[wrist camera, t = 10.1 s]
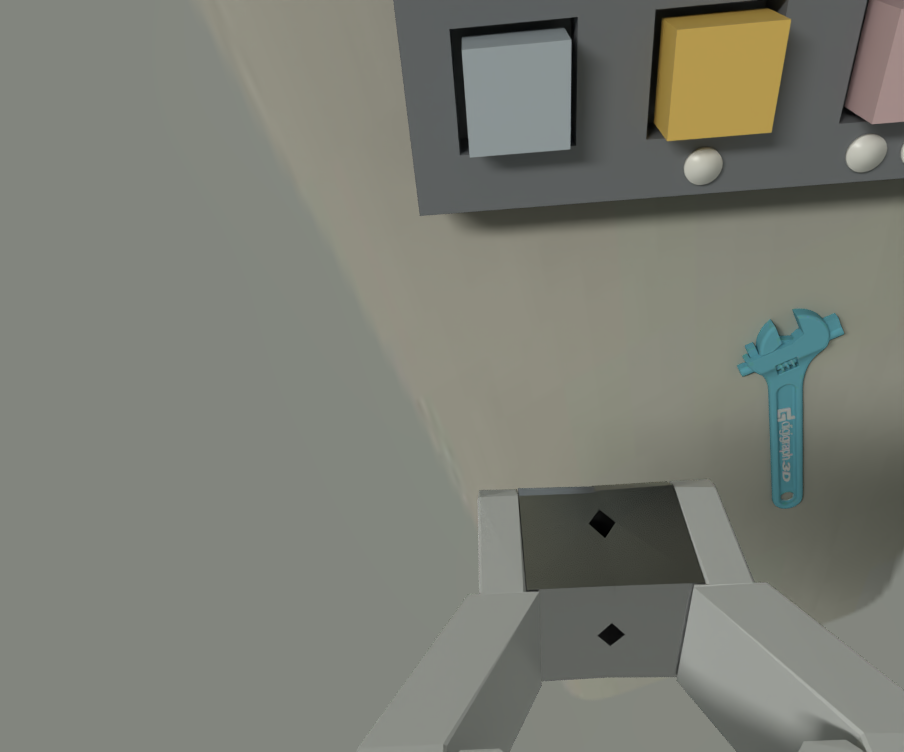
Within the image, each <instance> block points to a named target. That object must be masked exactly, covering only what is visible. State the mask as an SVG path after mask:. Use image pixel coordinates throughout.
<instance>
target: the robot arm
mask: <svg viewBox="0 0 904 752" xmlns="http://www.w3.org/2000/svg"><path fill="white" fill-rule="evenodd" d="M478 547H479V594H468V595H467V596H466V597H465V599H464V600H463V602H462V603H461V605H460V606H459V607H458V609H457V610H456V611H455V613H454V614H453V616H452V617H451V618H450V620H449V621H448V623H447V624H446V625H445V627H444V628H443V630H442V631H441V632H440V634H439V635H438V637H437V638H436V639H435V641H434V642H433V644H432V645H431V646H430V648H429V649H428V650H427V652H426V653H425V655H424V656H423V657H422V659H421V660H420V662H419V663H418V665H417V666H416V667H415V669H414V670H413V671H412V673H411V674H410V676H409V677H408V679H407V680H406V681H405V683H404V684H403V686H402V687H401V688H400V690H399V691H398V692H397V694H396V695H395V697H394V698H393V700H392V701H391V702H390V704H389V705H388V706H387V708H386V709H385V711H384V712H383V713H382V715H381V716H380V718H379V719H378V721H377V722H376V723H375V725H374V726H373V727H372V729H371V730H370V732H369V733H368V734H367V736H366V737H365V738H364V740H363V741H362V743H361V744H360V746H359V747H358V748H357V752H510V750H511V747H512V745H513V743H514V741H515V739H516V737H517V735H518V733H519V731H520V729H521V727H522V725H523V723H524V721H525V719H526V716H527V715H528V713H529V711H530V708H531V706H532V704H533V702H534V700H535V698H536V696H537V694H538V692H539V690H540V688H541V686H542V685H541V684H542V683H541V681H555V680H572V679H588V678H605V677H677V680H676V681H677V682H678V683H679V684H680V685H681V686H682V688H683V689H684V690H685V691H686V692H687V694H688V695H689V696H690V697H691V698H692V700H694V702H695V703H696V704H697V705H698V707H699V708H700V709H701V710H702V711H703V713H704V714H705V715H706V716H707V717H708V719H709V720H710V721H711V722H712V723H713V724H714V726H715V727H716V728H717V729H718V730H719V732H720V733H721V734H722V735H723V736H724V737H725V739H726V740H727V741H728V742H729V743H730V744H731V746H732V747H733V748H734V749H735V751H736V752H904V690H903V689H902V688H901V687H900V686H898V685H897V684H896V683H895V682H893V681H892V680H891V679H889V678H888V677H887V676H886V675H884V674H883V673H882V672H881V671H879V670H878V669H877V668H876V667H874V666H873V665H872V664H870V663H869V662H868V661H867V660H865V659H864V658H863V657H862V656H860V655H859V654H858V653H856V652H855V651H854V650H853V649H851V648H850V647H849V646H848V645H846V644H845V643H844V642H843V641H841V640H840V639H839V638H837V637H836V636H835V635H834V634H832V633H831V632H830V631H829V630H827V629H826V628H825V627H823V626H822V625H821V624H820V623H818V622H817V621H816V620H815V619H813V618H812V617H811V616H810V615H808V614H807V613H806V612H804V611H803V610H802V609H801V608H799V607H798V606H797V605H796V604H794V603H793V602H792V601H790V600H789V599H788V598H787V597H785V596H784V595H783V594H782V593H780V592H779V591H778V590H777V589H775V588H774V587H773V586H771V585H770V584H769V583H768V582H754V579H753V577H752V574H751V572H750V570H749V567H748V565H747V562H746V560H745V557H744V555H743V552H742V550H741V547H740V545H739V543H738V540H737V538H736V535H735V533H734V530H733V528H732V525H731V523H730V520H729V518H728V515H727V513H726V511H725V508H724V506H723V503H722V501H721V498H720V496H719V493H718V491H717V488H716V486H715V484H714V483H713V482H712V481H711V480H710V479H699V480H682V481H670V482H669V483H668V482H667V481H665V482H648V483H632V484H615V485H598V486H592V487H554V488H518V493H517V489H507V490H479V495H478Z"/></svg>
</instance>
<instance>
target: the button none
mask: <svg viewBox="0 0 904 752" xmlns="http://www.w3.org/2000/svg"><path fill="white" fill-rule="evenodd" d="M462 61H463V75H464V88H465V101H466V115H467V128H468V141H469V155H470V158H471V157H483V156H495V155H507V154H519V153H531V152H544V151H556V150H568V149H570V134H571V38H570V37H569V35H568V33H567V32H566V30H565V28H564V27H559V28H549V29H538V30H528V31H517V32H506V33H496V34H485V35H475V36H464V37H462Z"/></svg>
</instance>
